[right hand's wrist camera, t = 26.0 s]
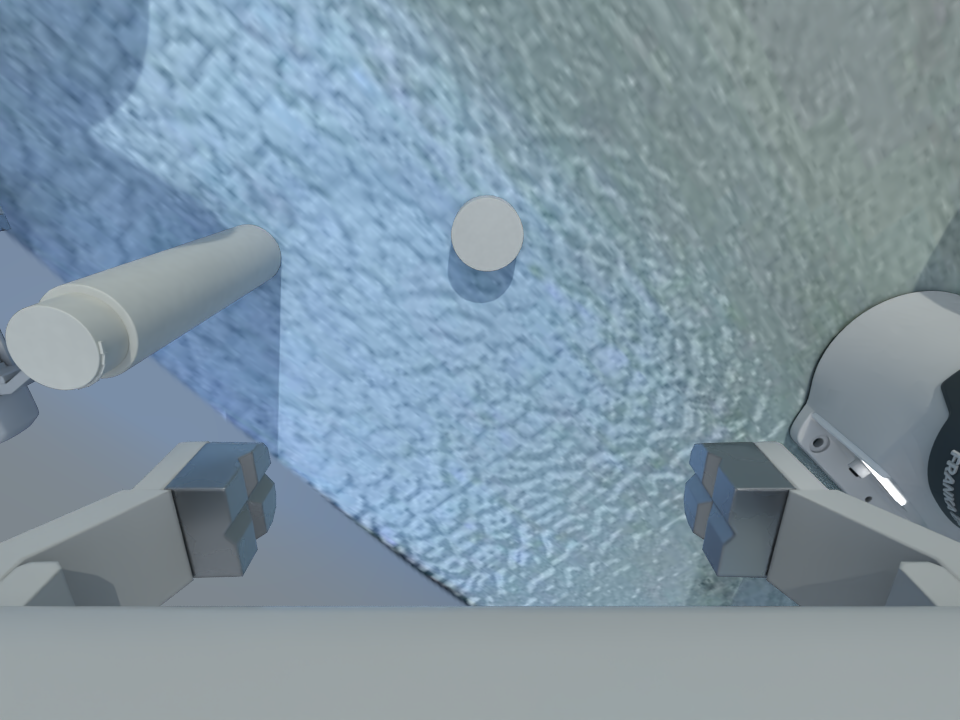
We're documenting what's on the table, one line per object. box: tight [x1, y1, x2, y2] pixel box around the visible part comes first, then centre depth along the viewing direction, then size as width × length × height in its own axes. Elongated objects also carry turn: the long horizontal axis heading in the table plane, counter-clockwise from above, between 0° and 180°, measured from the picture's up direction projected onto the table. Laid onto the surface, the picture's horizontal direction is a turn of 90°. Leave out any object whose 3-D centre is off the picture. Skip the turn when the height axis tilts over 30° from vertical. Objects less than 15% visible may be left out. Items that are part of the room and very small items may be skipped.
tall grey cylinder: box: [6, 225, 281, 390], centre depth 30 cm, size 4×4×20 cm
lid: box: [451, 195, 523, 271], centre depth 38 cm, size 5×5×2 cm
